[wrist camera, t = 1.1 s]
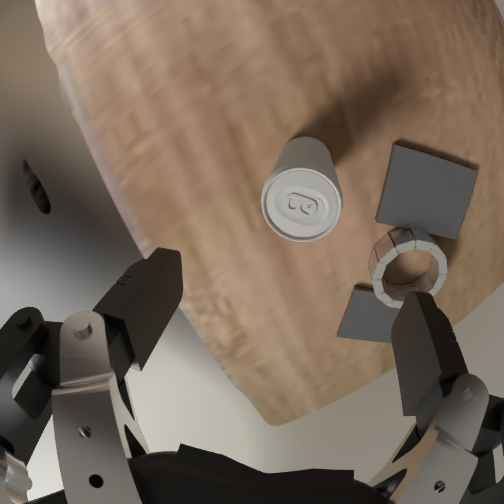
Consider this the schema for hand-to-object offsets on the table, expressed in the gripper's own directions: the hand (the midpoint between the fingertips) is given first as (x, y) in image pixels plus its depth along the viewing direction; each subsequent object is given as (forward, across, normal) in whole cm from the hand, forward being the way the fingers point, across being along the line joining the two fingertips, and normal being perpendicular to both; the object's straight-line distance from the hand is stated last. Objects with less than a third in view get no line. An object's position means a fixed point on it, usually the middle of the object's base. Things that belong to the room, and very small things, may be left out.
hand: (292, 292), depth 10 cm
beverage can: (+20, 0, 0) cm, 20 cm away
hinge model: (+20, -13, +9) cm, 25 cm away
